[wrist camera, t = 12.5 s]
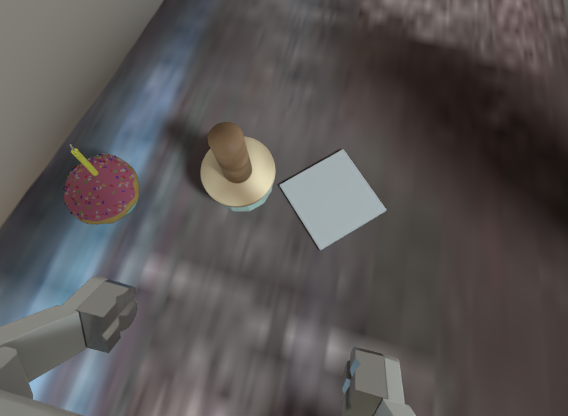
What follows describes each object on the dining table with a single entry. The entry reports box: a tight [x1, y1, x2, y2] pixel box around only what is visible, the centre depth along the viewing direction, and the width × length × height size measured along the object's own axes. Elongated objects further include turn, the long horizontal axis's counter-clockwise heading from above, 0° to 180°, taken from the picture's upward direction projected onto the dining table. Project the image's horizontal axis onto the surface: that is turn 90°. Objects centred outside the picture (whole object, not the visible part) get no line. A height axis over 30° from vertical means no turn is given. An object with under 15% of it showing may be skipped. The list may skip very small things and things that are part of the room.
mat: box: [280, 149, 386, 250], centre depth 43 cm, size 10×10×1 cm
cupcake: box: [63, 144, 139, 224], centre depth 38 cm, size 9×8×12 cm
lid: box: [201, 122, 275, 207], centre depth 37 cm, size 9×9×9 cm
